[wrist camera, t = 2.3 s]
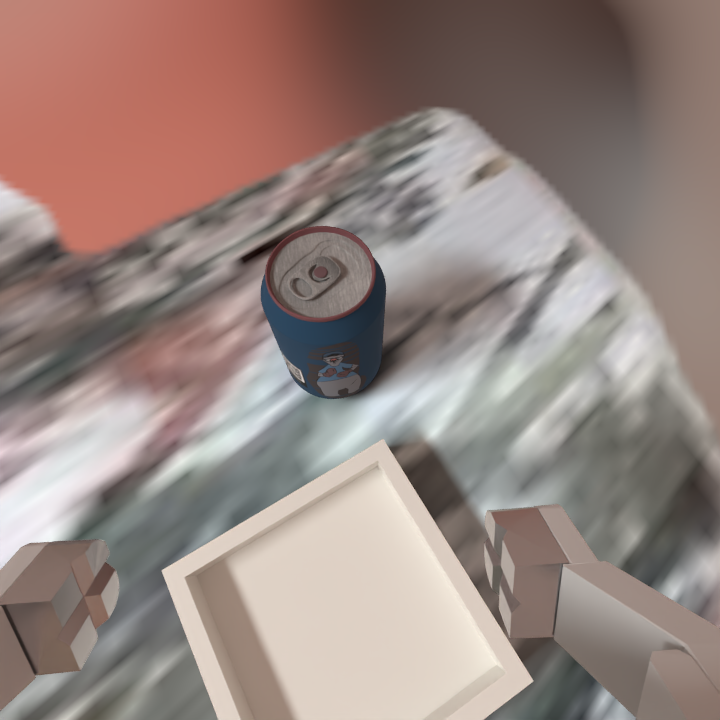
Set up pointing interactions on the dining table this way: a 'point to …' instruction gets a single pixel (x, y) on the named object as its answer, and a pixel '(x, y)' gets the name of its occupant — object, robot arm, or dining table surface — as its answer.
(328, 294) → the soda can
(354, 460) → the tray
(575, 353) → the dining table surface
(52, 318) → the dining table surface
